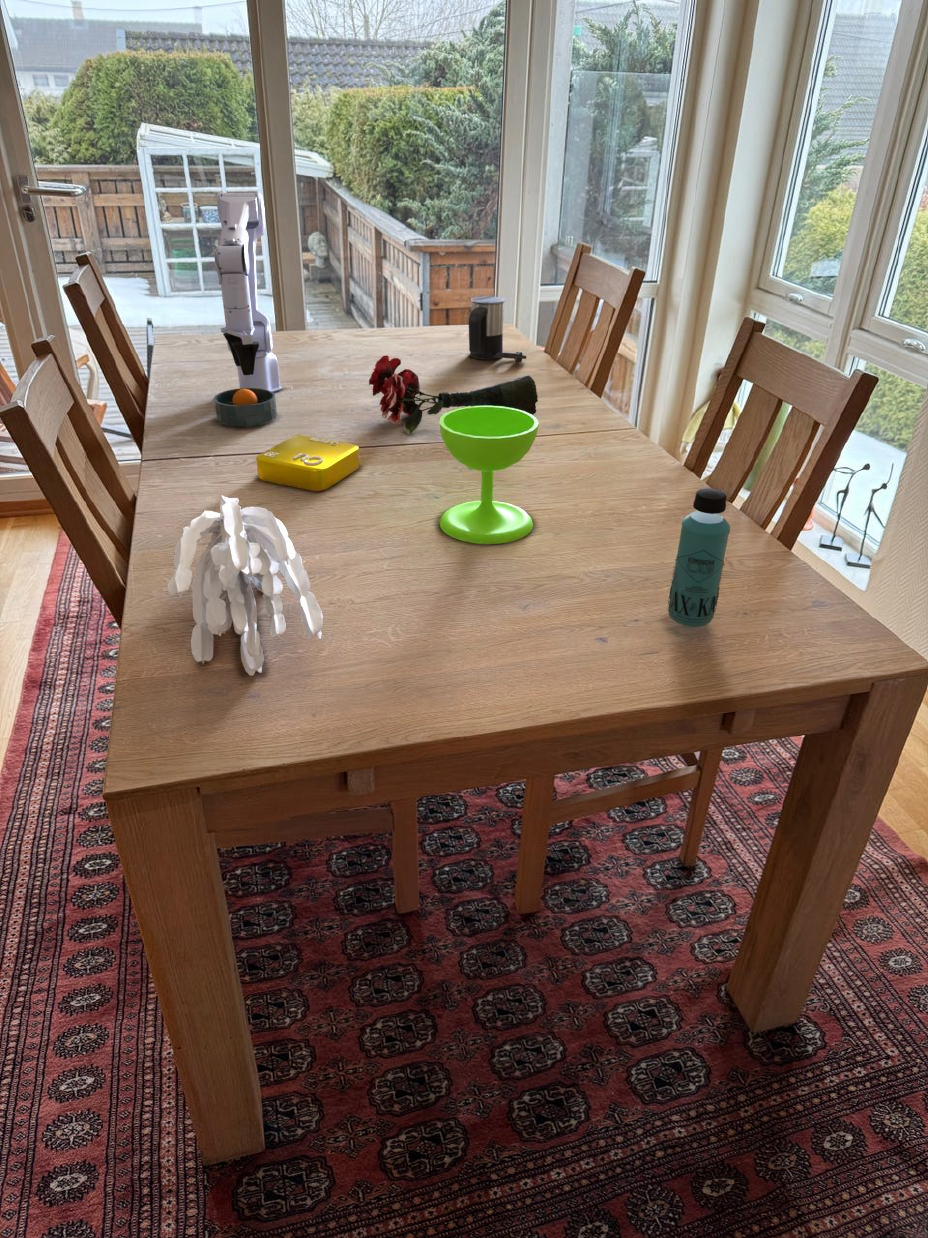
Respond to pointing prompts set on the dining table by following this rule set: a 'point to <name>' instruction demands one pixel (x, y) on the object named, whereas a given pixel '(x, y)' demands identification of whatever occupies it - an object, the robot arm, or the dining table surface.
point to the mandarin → (244, 397)
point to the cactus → (240, 579)
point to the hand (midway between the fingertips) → (244, 369)
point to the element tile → (308, 462)
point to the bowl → (245, 408)
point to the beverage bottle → (699, 560)
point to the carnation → (442, 394)
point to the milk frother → (488, 329)
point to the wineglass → (487, 470)
